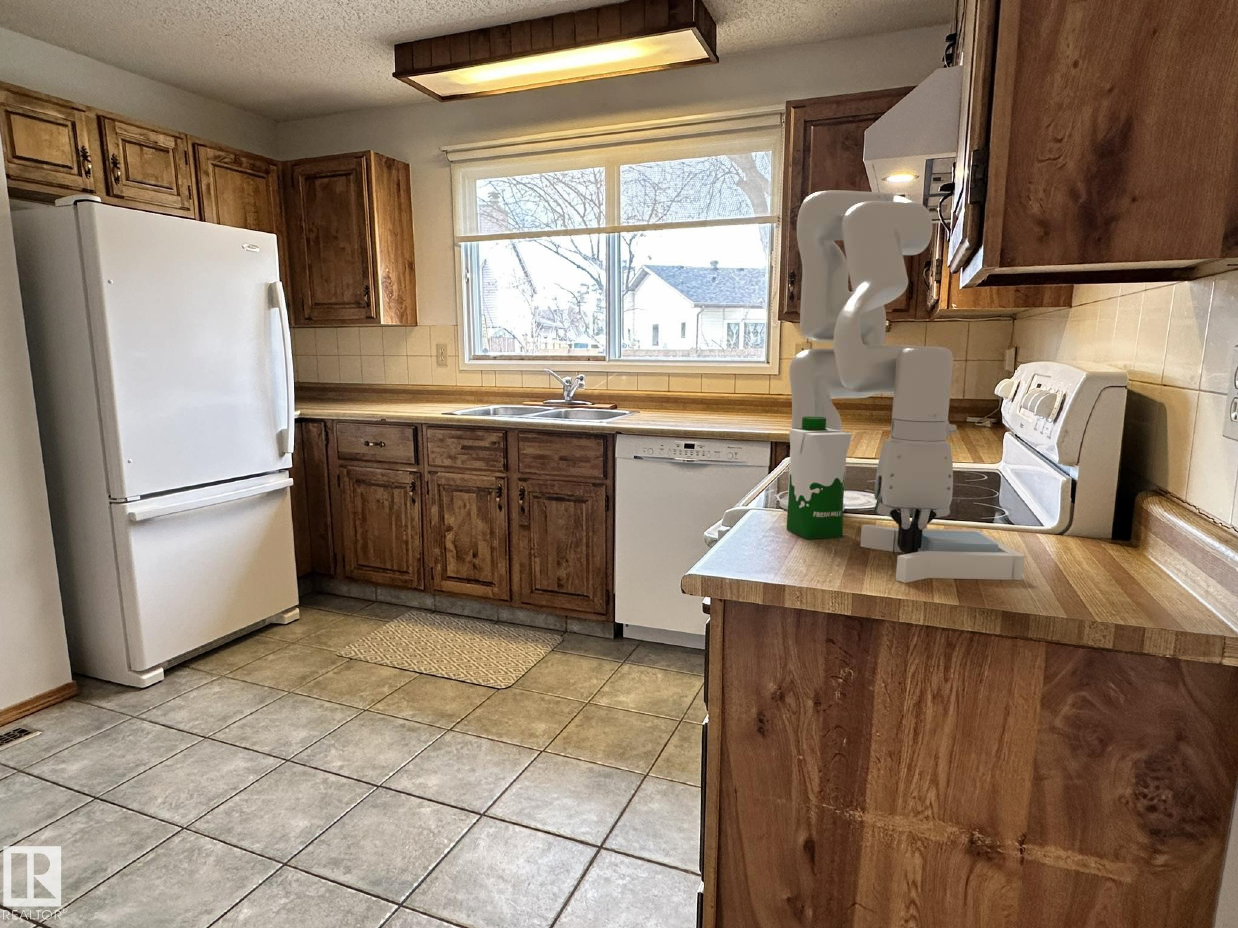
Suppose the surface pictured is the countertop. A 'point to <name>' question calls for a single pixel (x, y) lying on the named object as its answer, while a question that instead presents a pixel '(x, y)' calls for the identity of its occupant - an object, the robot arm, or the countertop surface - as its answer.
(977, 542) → the grey boxy piece
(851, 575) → the countertop surface
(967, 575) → the bay
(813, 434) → the milk carton
